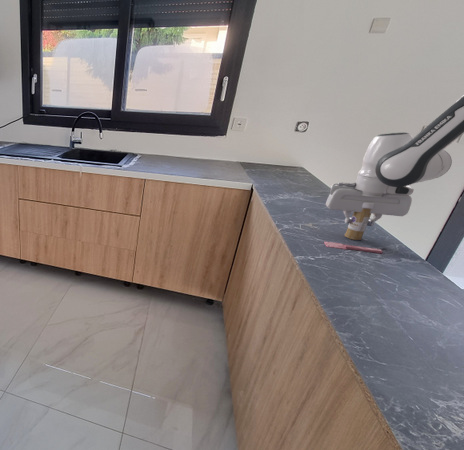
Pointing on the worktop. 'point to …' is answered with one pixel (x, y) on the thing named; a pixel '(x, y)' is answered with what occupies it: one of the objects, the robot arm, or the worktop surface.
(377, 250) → the spatula
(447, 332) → the worktop surface
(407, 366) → the worktop surface
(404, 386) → the worktop surface
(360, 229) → the sprinkles bottle
